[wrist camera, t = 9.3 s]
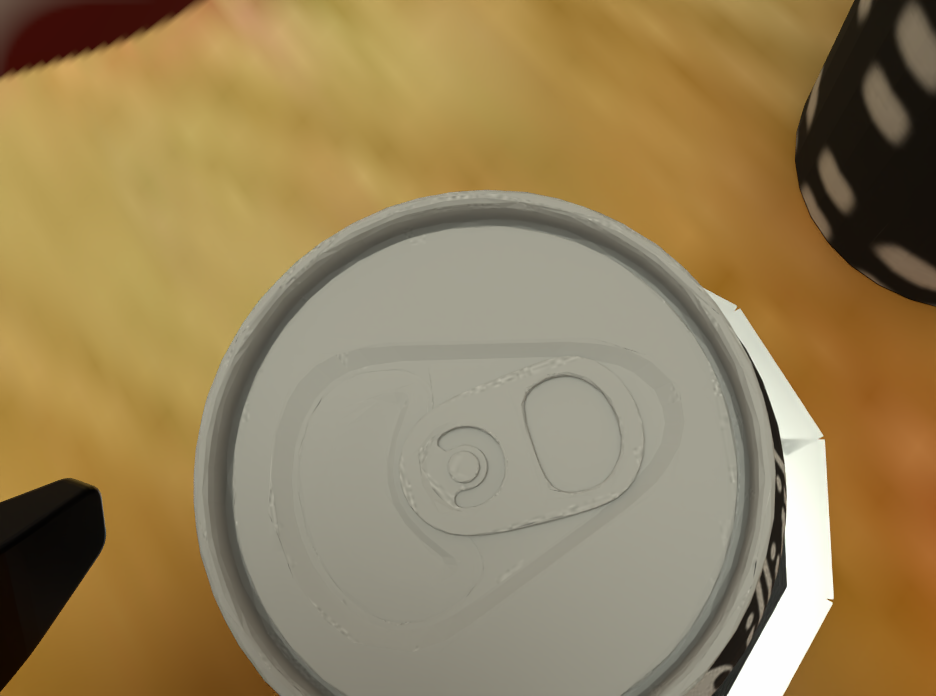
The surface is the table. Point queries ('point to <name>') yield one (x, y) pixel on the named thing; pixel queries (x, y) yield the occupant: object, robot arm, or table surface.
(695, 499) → the beverage can
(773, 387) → the can holder
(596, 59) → the table surface
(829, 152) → the white-spotted black cylinder
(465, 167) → the table surface
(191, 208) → the table surface
